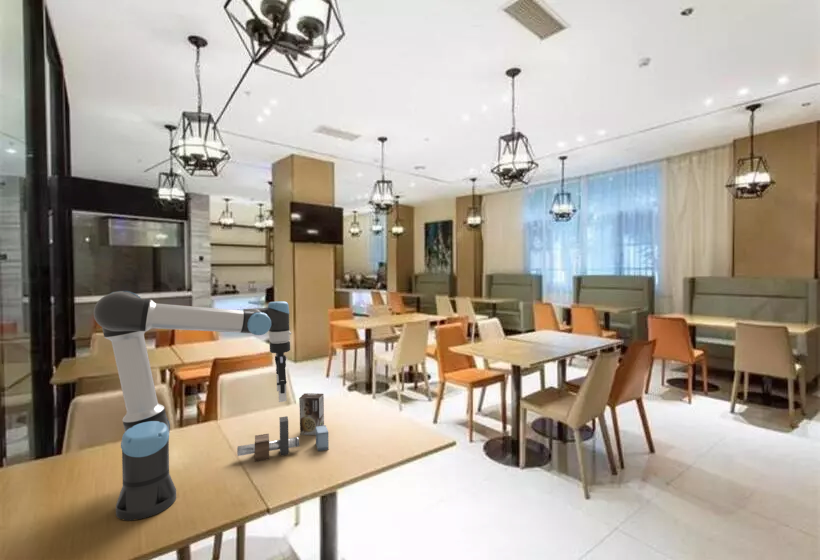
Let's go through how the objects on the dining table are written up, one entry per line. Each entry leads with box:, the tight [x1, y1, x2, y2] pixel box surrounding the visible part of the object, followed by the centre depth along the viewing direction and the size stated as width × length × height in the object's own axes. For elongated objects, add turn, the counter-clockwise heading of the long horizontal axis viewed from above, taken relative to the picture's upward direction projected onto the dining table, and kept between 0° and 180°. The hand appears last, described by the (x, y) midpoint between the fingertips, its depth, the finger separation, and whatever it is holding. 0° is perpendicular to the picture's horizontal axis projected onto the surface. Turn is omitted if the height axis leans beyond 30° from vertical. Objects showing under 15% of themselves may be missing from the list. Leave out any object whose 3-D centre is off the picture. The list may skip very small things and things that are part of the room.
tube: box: [236, 415, 300, 457], centre depth 148 cm, size 22×5×13 cm, turn 111°
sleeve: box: [254, 433, 270, 462], centre depth 147 cm, size 7×5×7 cm
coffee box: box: [298, 392, 325, 436], centre depth 169 cm, size 9×6×16 cm
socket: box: [315, 424, 330, 452], centre depth 155 cm, size 7×4×7 cm, turn 21°
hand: (281, 395), depth 150 cm, fingers open, 13 cm apart
